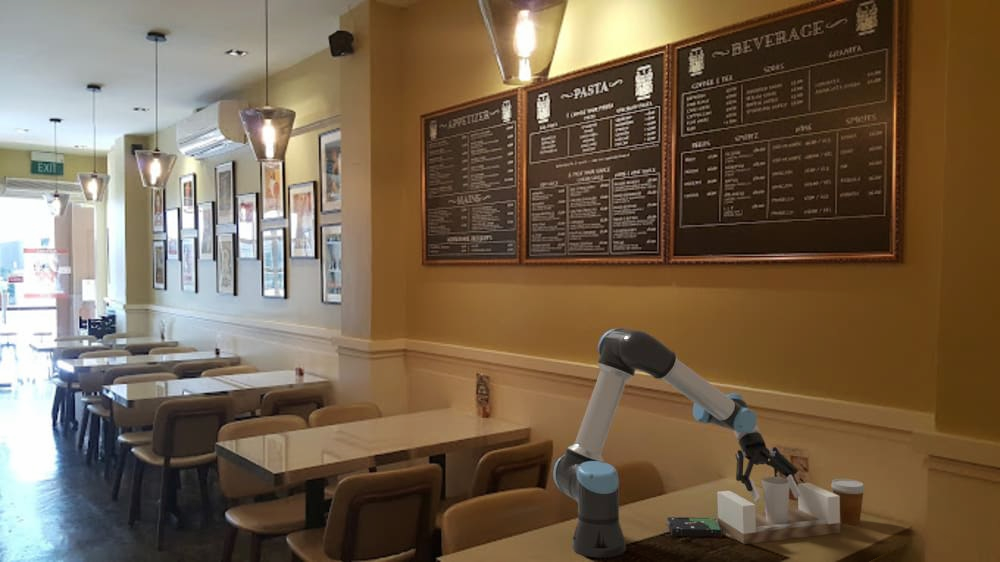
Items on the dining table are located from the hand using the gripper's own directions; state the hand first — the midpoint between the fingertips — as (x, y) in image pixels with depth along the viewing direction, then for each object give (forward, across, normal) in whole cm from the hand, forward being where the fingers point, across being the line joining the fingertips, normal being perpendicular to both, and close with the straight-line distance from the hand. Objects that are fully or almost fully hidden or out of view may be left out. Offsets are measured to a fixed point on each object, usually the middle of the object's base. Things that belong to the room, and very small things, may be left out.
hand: (778, 498), depth 211 cm
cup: (+5, 0, -5) cm, 7 cm away
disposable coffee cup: (+7, -25, -8) cm, 27 cm away
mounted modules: (+5, 0, -5) cm, 7 cm away
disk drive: (+2, +24, -12) cm, 27 cm away
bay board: (+7, 0, -7) cm, 10 cm away
